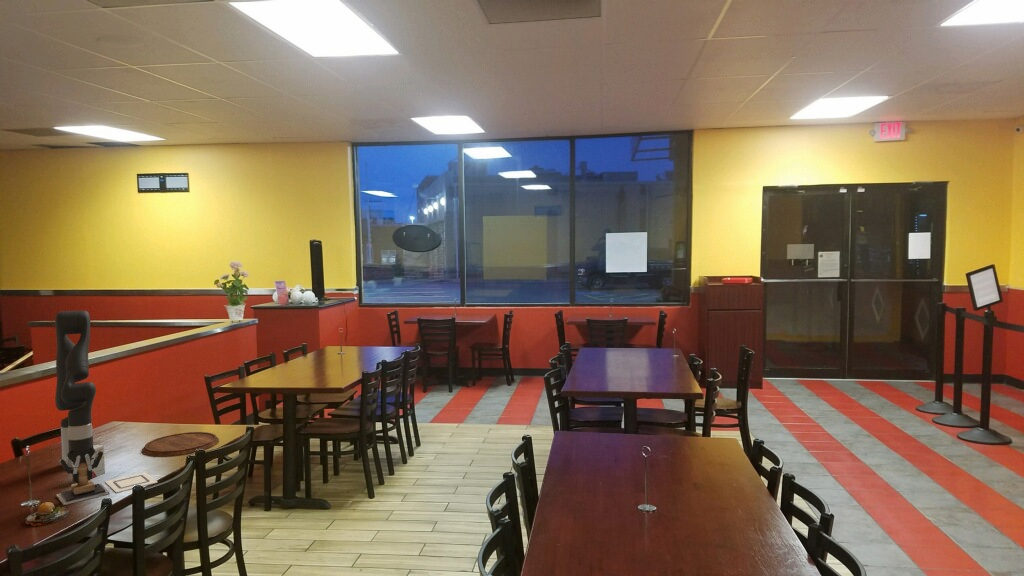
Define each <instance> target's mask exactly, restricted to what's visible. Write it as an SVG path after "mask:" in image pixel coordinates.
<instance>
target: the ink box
mask: <svg viewBox="0 0 1024 576" xmlns="http://www.w3.org/2000/svg"><path fill="white" fill-rule="evenodd" d="M93 447H94V449H95V451H102V452H103V455H102V457H101V460H100V462H99V465H98V467H97V468H94V469H93V470H92V478H91V479H94V478H96V477H100V476H101V475H103V474H106V468H105V467H106V464H105V445H100V444H99V445H98V444H93ZM95 458H96V456H95V453H94V455H93V456H92V458H91V459H90V461H91V465H92V464H93V462H94V460H95Z"/></svg>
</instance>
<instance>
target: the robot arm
mask: <svg viewBox="0 0 1024 576" xmlns="http://www.w3.org/2000/svg"><path fill="white" fill-rule="evenodd" d="M54 321H55V322H54V323H55V324H54V325H55V326H54V327H55V338H56V355H55V356H56V358H55V360H56V361H55V364H56V365H55V367H56V369H55V371H56V386H55V396H54V397H55V398H54V400H55V401H54V404H55V407H56V409H57V410H58V411H61V412H62V411H68V413H67V416H66V417H64V418H62V419H61V421H60V436H61V457H62V458H59V459H58V462H59V463H60V465H61V466H62V468H63V469H64V470H65V472H66V473H67V474H68V475H69V474H72V476H71V477H72V482H73V483H74V484H76V483H78V473H77V470H78V467H79V464H81V463H87V466H88V468H87V471H88V481H89V480H91V479H93V478H92V470H93V469H94V468H97V467H98V465H99V462H100V460H101V457H102V455H103V452H102V451H95V449H94V447H93V445H94V430H93V429H94V428H93V424H92V423H93V422H92V410H93V409H92V408H93V404H94V403H93V402H94V400H95V397H96V393H97V387H96V385H95V384H94V382H91V381H85V382H82V381H84V380H86V379H88V378H89V376H90V367H89V366H90V365H89V352H90V351H89V349H90V338H91V317H90V313H89V312H88V310H63V311H58V312H57V313H56V315H55V320H54ZM68 335H80V336H79V339H78V341H77V342H76V343H74V342H73V341H72V340H71V339H70V338H69V337H68ZM94 453H95V456H96V458H95V460H94V462H93V464H92V465H91V461H90V459H91V458H92V456H93V455H94ZM70 468H71V469H70Z"/></svg>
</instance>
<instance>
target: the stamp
mask: <svg viewBox="0 0 1024 576" xmlns="http://www.w3.org/2000/svg"><path fill="white" fill-rule="evenodd" d="M87 468H88V466H87V463H81V464H79V467H78V470H77V473H78V483H72V484H71V486H70V488H71V489H70V490H71V491H72V493H73V494H74V495H80V494H84V493H88V492H92V491H95V487H94V485H95V483H94V482H93V481H92V480H91V479H90V480H89V481H88V471H87Z"/></svg>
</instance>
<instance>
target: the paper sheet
mask: <svg viewBox="0 0 1024 576" xmlns="http://www.w3.org/2000/svg"><path fill="white" fill-rule="evenodd" d="M158 482H159V481H157V480H156V479H154V478H153V477H152V476H151V475H149V474H148V473H147V472H145V471H144V472H140V473H136V474H131V475H127V476H124V477H119V478H115V479H111V480H105V481H104V483H105V484H106V485H107V486H108V487H110V489H111V490H113V491H114V492H115V494H118V493H122V492H125V491H124V490H126V491H130V490H133V489H132V487H133V486H134V485H142V487H145V486H149V485H154V484H158ZM146 483H148V484H146ZM121 491H122V492H121ZM117 492H118V493H117Z"/></svg>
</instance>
